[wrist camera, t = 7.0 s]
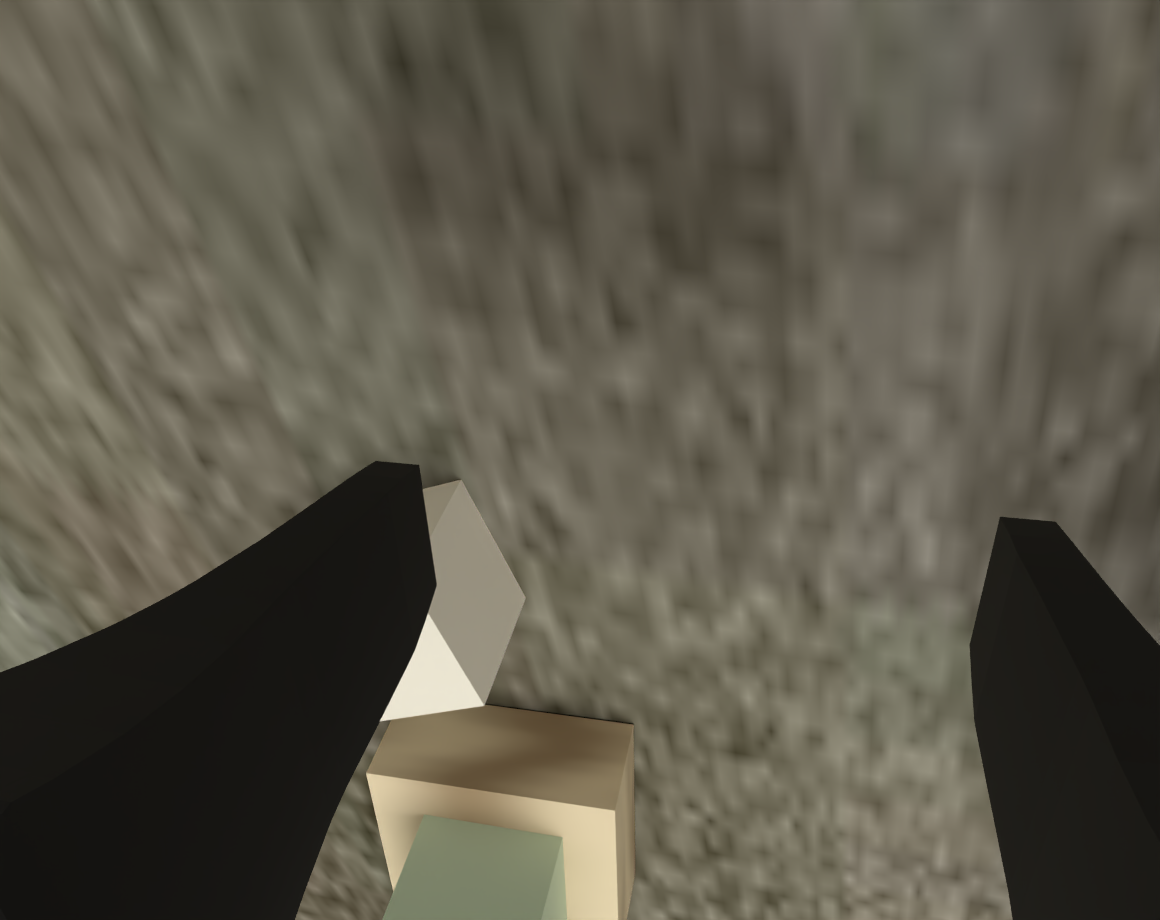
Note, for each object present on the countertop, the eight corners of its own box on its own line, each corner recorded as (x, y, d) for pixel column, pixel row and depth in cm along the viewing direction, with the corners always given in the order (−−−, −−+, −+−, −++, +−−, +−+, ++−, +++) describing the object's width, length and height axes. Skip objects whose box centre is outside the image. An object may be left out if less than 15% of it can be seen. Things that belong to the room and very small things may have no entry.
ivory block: (461, 477, 26) (407, 579, 23) (526, 596, 28) (484, 705, 24) (334, 509, 27) (265, 608, 24) (403, 619, 29) (348, 726, 26)
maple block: (633, 724, 29) (614, 810, 27) (635, 873, 33) (619, 960, 31) (403, 693, 31) (366, 772, 28) (431, 839, 35) (400, 920, 32)
